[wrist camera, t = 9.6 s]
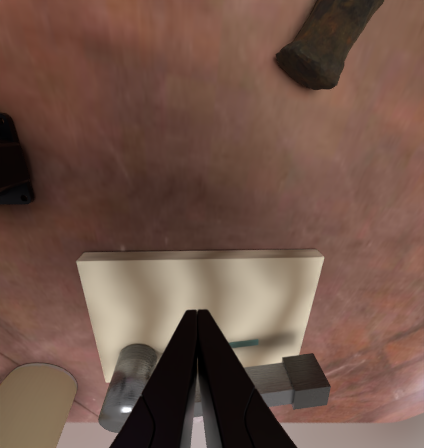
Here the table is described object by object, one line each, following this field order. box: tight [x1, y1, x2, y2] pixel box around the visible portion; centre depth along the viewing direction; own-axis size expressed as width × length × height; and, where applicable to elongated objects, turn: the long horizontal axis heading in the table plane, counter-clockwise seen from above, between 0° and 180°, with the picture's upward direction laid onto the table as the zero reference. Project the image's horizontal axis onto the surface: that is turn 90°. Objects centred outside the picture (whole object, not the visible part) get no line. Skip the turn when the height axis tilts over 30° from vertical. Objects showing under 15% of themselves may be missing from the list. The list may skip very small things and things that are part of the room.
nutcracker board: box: [76, 249, 324, 383], centre depth 22 cm, size 22×16×4 cm
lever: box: [98, 345, 331, 433], centre depth 21 cm, size 20×4×6 cm, turn 95°
